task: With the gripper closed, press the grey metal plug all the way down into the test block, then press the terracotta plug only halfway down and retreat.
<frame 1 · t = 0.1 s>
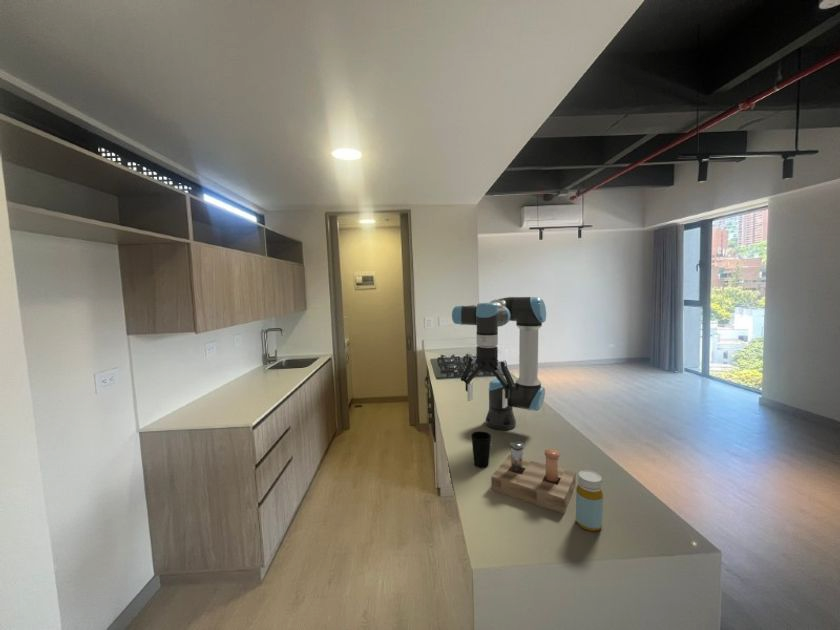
hand: (487, 403, 128), 28 cm above the worktop, fingers open, 13 cm apart
terracotta plug: (551, 465, 119), point 10 cm above the worktop, slide at 0.0 cm
bottle: (588, 524, 104), on the worktop
test block: (533, 487, 123), on the worktop
grey plug: (517, 456, 125), point 10 cm above the worktop, slide at 0.0 cm
cup: (481, 465, 139), on the worktop
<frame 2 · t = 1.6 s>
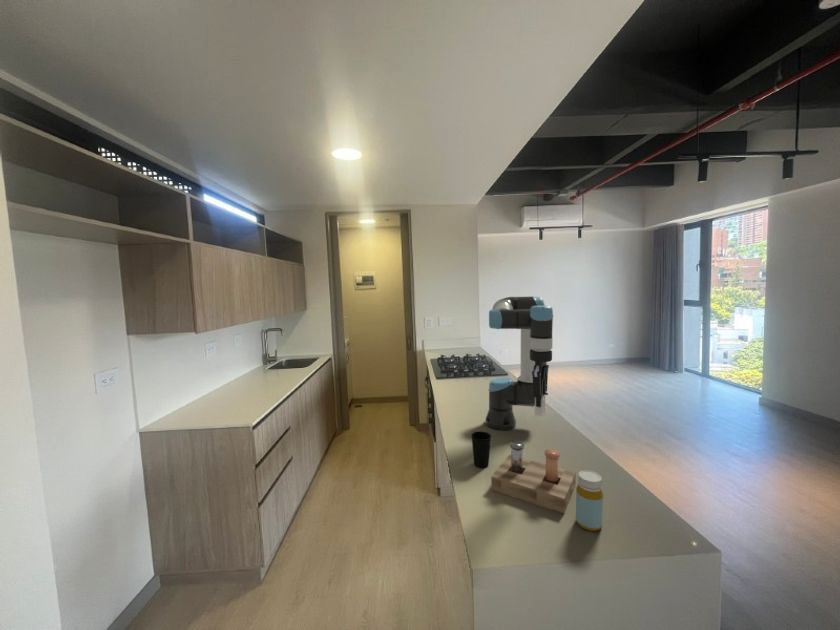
hand: (540, 413, 127), 24 cm above the worktop, fingers open, 2 cm apart
nothing on the worktop moved.
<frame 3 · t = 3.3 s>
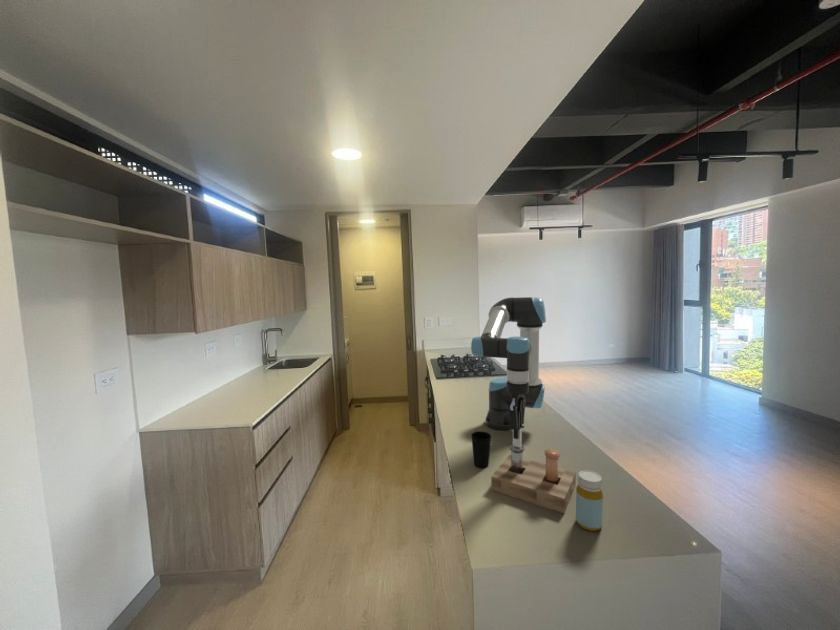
hand: (517, 446, 125), 14 cm above the worktop, fingers closed
grey plug: (517, 458, 125), point 9 cm above the worktop, slide at 1.0 cm, touching gripper
everything else where it was.
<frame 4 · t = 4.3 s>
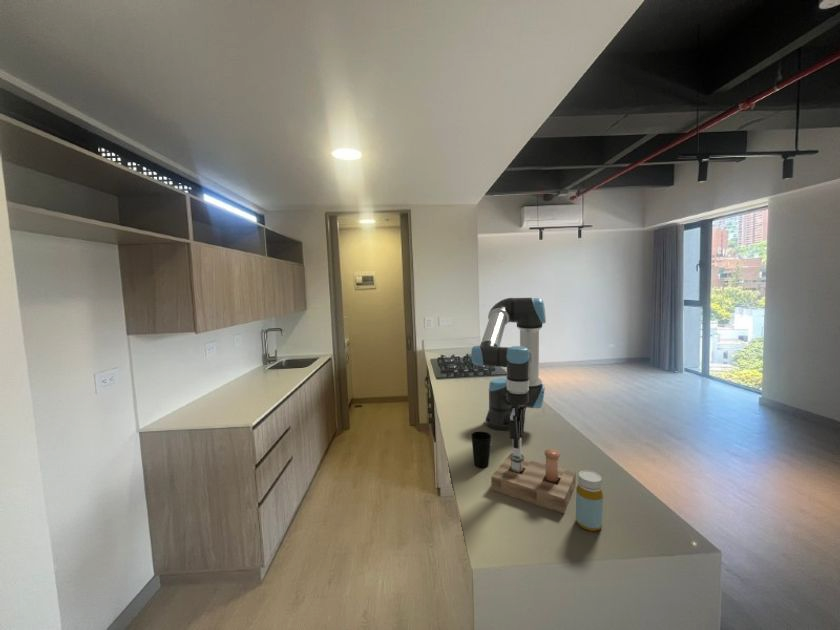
hand: (517, 455, 125), 10 cm above the worktop, fingers closed
grey plug: (516, 468, 126), point 6 cm above the worktop, slide at 4.5 cm, touching gripper
everything else where it was.
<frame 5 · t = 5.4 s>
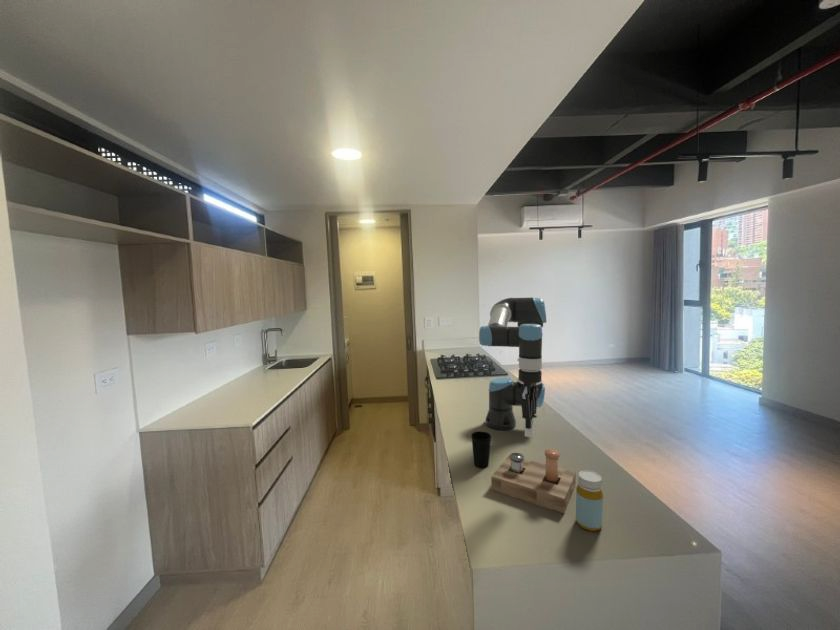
hand: (529, 436, 122), 19 cm above the worktop, fingers closed
grey plug: (516, 468, 126), point 6 cm above the worktop, slide at 4.5 cm
everything else where it was.
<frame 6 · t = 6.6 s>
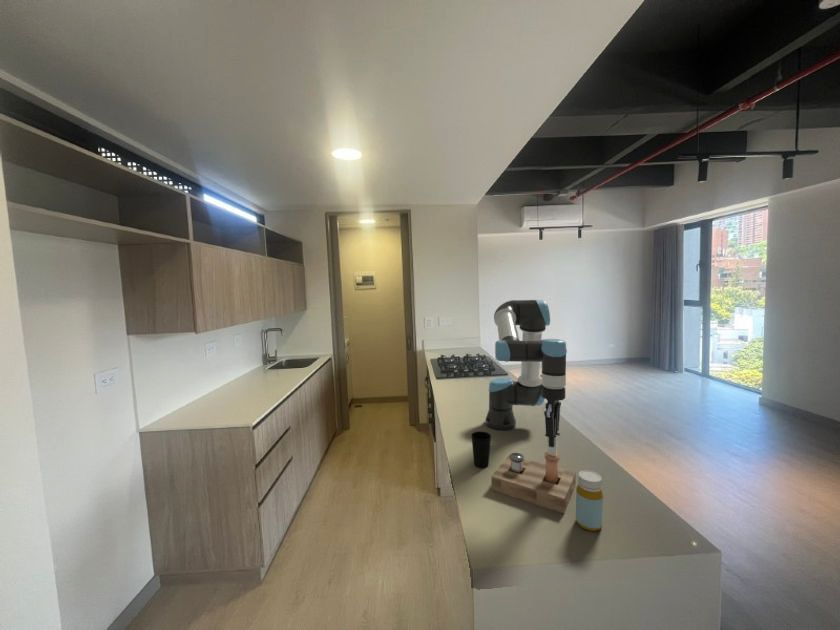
hand: (552, 454, 118), 14 cm above the worktop, fingers closed
terracotta plug: (551, 467, 119), point 9 cm above the worktop, slide at 1.0 cm, touching gripper
everything else where it was.
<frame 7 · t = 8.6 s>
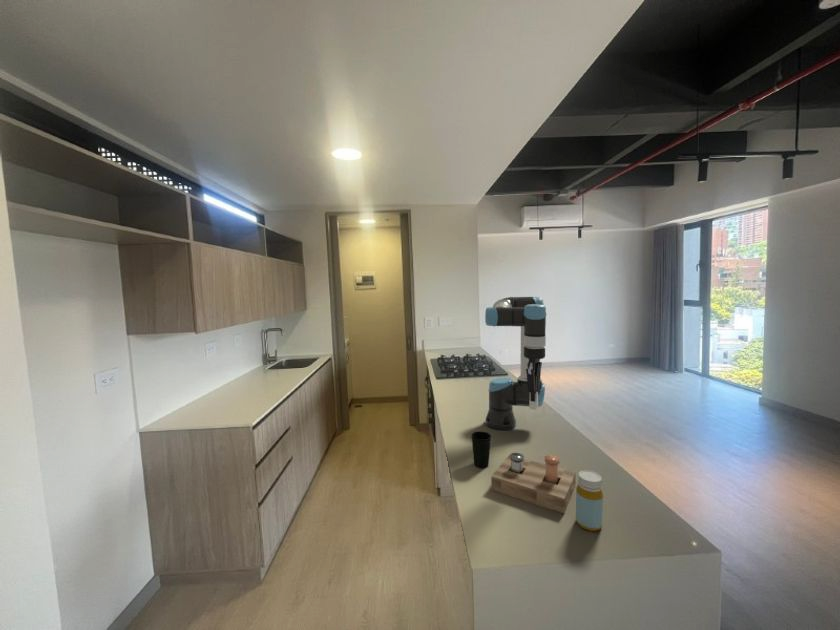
hand: (533, 408, 131), 25 cm above the worktop, fingers closed
terracotta plug: (551, 471, 119), point 8 cm above the worktop, slide at 2.1 cm
everything else where it was.
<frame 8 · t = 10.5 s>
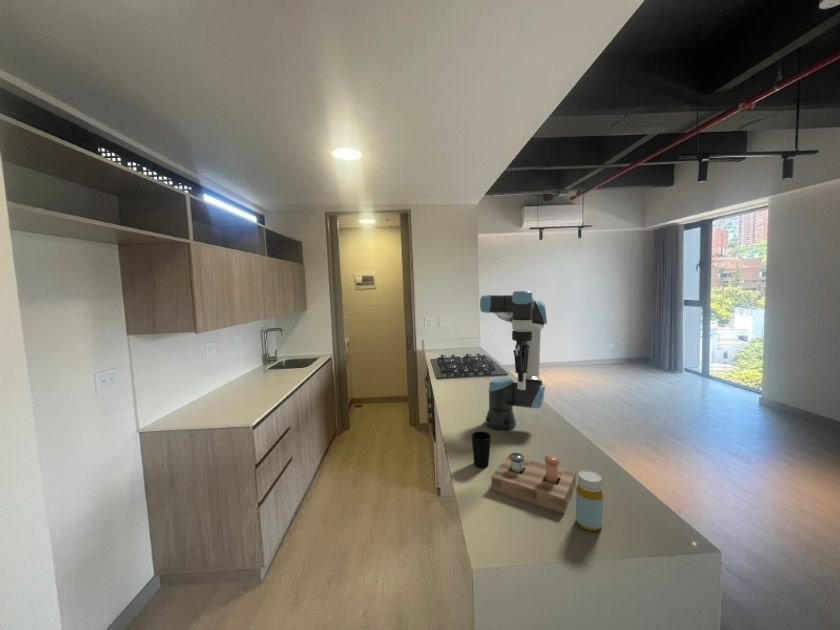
hand: (521, 388, 140), 29 cm above the worktop, fingers closed
nothing on the worktop moved.
at the end: grey plug slide at 4.5 cm; terracotta plug slide at 2.1 cm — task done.
